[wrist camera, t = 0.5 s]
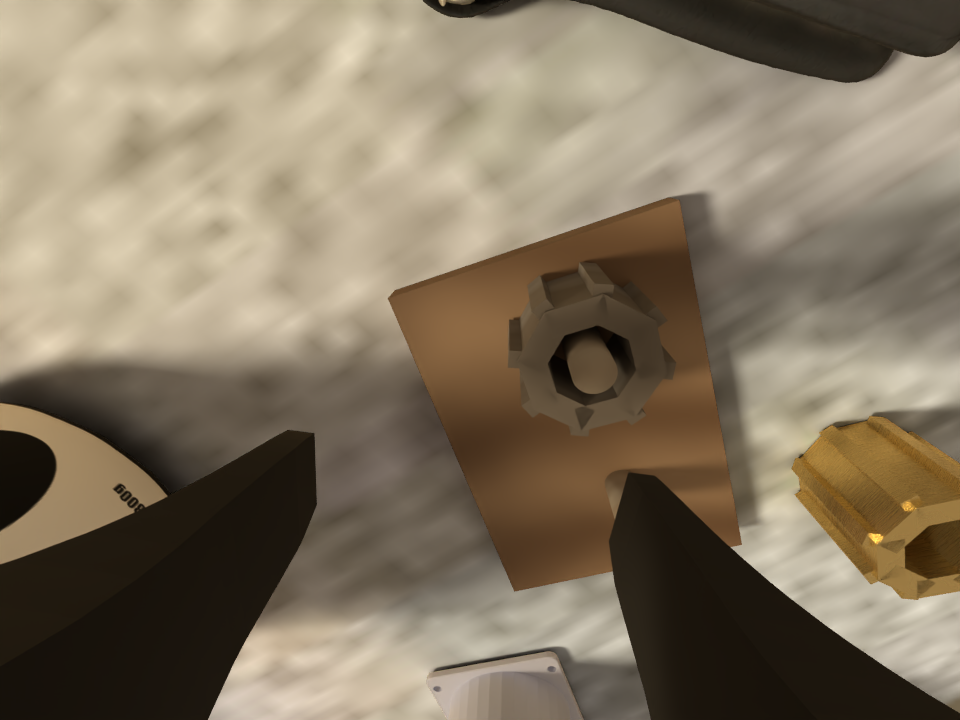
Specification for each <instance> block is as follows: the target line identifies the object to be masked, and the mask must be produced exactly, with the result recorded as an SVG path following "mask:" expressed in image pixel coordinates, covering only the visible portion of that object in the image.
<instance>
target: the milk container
mask: <svg viewBox="0 0 960 720" xmlns="http://www.w3.org/2000/svg"><path fill="white" fill-rule="evenodd" d="M169 495H171V494H170V493H169V492H168V491H167V489H166V488H165V487H164V486H163V485H162V483H161V482H160V481H159V480H158V479H157V478H156V477H155V476H154V474H153V473H152V472H151V471H150V470H148V469H147V468H146V467H144V466H143V465H142V464H140V463H139V462H138V461H136V460H135V459H134V458H132V457H131V456H130V455H128V454H127V453H126V452H124V451H123V450H122V449H120V448H119V447H117V446H116V445H115V444H113V443H112V442H110V441H109V440H108V439H106V438H105V437H104V436H101V435H99V434H97V433H95V432H93V431H91V430H89V429H87V428H85V427H83V426H81V425H78V424H76V423H74V422H71V421H69V420H67V419H64V418H62V417H59V416H57V415H55V414H52V413H49V412H46V411H44V410H41V409H38V408H34V407H29V406H25V405H20V404H12V403H5V402H0V564H3V563H6V562H9V561H12V560H15V559H18V558H21V557H23V556H26V555H29V554H32V553H34V552H37V551H40V550H42V549H45V548H48V547H50V546H53V545H56V544H58V543H61V542H64V541H66V540H69V539H72V538H74V537H77V536H80V535H82V534H85V533H88V532H90V531H92V530H95V529H97V528H100V527H102V526H104V525H107V524H109V523H111V522H114V521H116V520H118V519H121V518H123V517H125V516H128V515H130V514H132V513H134V512H136V511H139V510H141V509H143V508H145V507H147V506H149V505H151V504H153V503H156V502H158V501H160V500H162V499H164V498H165V497H167V496H169Z"/></svg>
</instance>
